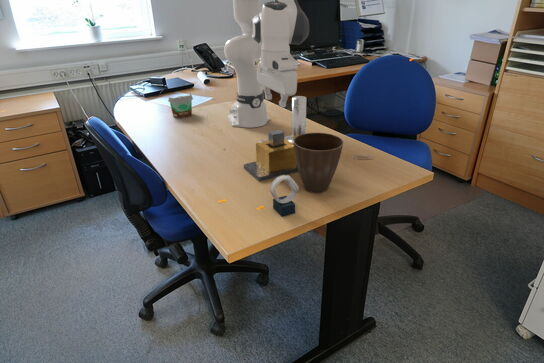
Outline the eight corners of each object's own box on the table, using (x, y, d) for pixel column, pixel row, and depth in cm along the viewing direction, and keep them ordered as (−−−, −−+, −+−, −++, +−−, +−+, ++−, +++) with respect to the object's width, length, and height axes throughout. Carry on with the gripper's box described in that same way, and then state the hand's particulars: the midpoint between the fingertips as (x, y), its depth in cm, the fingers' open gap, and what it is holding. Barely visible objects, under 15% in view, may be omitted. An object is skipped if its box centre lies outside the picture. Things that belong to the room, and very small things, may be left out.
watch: (301, 211, 113) (301, 177, 108) (276, 218, 109) (275, 183, 104) (291, 202, 117) (292, 169, 112) (267, 209, 114) (266, 175, 109)
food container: (175, 120, 188) (172, 100, 183) (170, 117, 192) (167, 97, 188) (198, 115, 194) (196, 95, 190) (193, 112, 199) (191, 93, 194)
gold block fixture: (238, 163, 143) (234, 98, 132) (295, 150, 153) (296, 89, 142) (259, 181, 130) (256, 111, 119) (320, 165, 140) (323, 99, 129)
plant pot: (317, 173, 135) (319, 129, 127) (349, 189, 124) (353, 142, 117) (283, 185, 127) (283, 139, 120) (314, 204, 116) (316, 154, 109)
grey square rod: (268, 164, 138) (268, 132, 133) (279, 161, 140) (279, 129, 135) (273, 167, 136) (272, 134, 130) (284, 164, 138) (284, 132, 132)
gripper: (251, 55, 128) (252, 96, 135) (282, 66, 112) (282, 112, 119) (268, 53, 131) (268, 94, 137) (301, 64, 115) (299, 109, 121)
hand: (275, 103), depth 128 cm, fingers open, 8 cm apart
